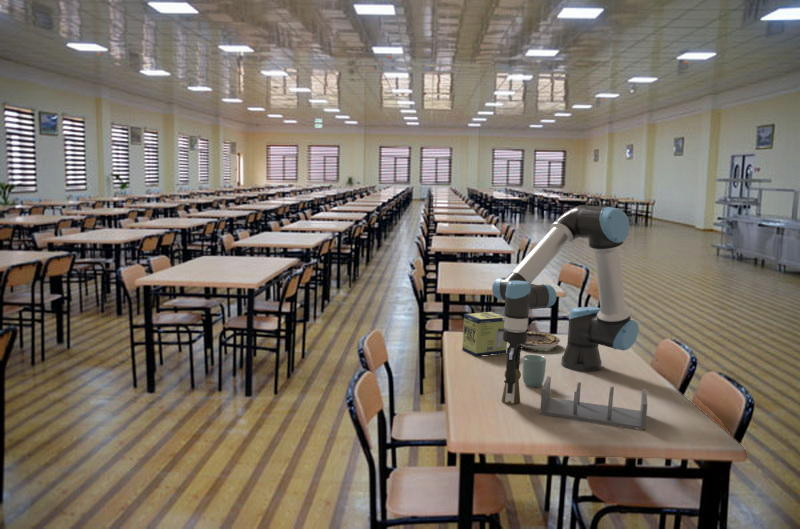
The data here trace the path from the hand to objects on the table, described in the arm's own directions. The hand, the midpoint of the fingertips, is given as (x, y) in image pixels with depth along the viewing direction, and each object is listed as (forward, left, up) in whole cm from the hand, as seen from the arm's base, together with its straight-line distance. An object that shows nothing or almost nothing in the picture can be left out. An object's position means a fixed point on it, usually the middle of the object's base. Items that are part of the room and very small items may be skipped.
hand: (510, 399), depth 209 cm
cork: (0, 0, -1) cm, 1 cm away
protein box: (-24, -53, -1) cm, 58 cm away
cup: (-17, -11, -1) cm, 20 cm away
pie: (-50, -54, -1) cm, 74 cm away
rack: (-18, +18, -1) cm, 26 cm away
